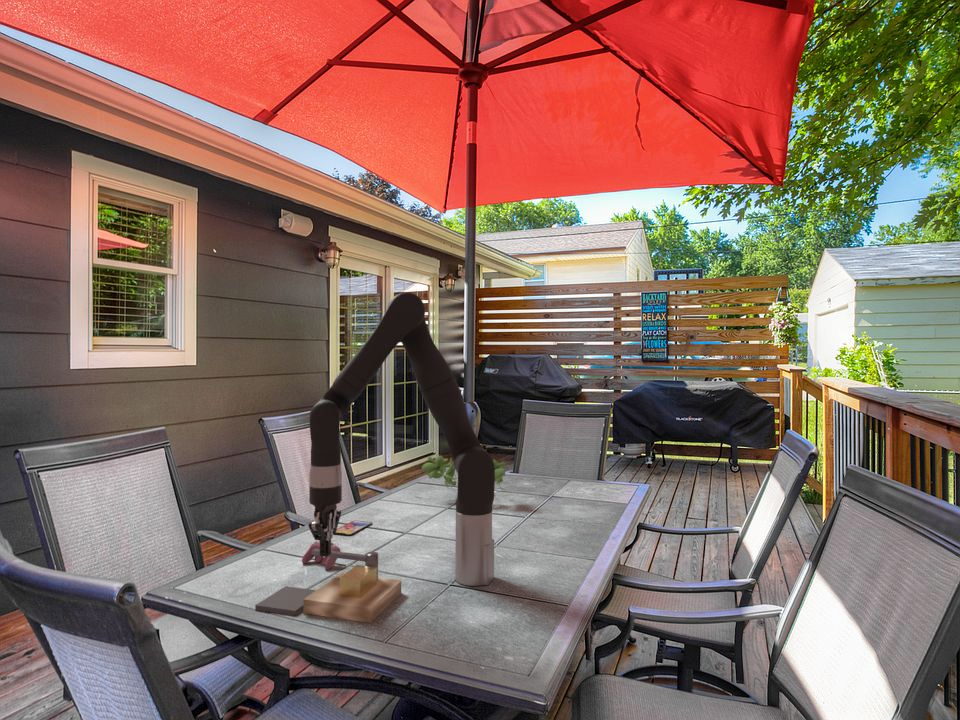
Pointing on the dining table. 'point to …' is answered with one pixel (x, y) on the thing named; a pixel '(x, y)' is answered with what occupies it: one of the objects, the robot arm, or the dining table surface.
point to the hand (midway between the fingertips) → (325, 555)
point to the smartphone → (352, 528)
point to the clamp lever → (354, 557)
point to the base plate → (352, 600)
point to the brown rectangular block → (358, 581)
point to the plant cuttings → (441, 466)
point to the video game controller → (326, 560)
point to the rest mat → (285, 601)
